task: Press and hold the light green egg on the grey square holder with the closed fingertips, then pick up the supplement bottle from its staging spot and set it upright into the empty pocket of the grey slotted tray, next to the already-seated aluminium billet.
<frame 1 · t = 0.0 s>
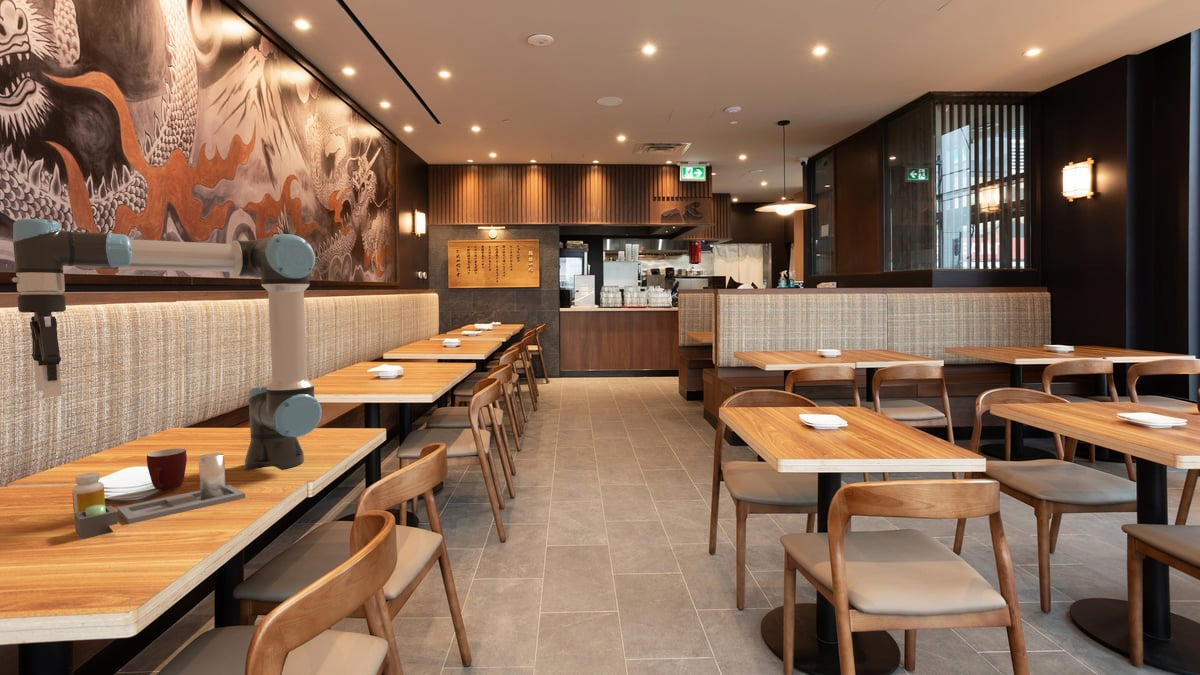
hand: (48, 393, 132), 28 cm above the table, fingers open, 13 cm apart
grey slotted tray: (183, 511, 140), on the table
light green egg: (95, 516, 128), point 3 cm above the table, slide at 0.9 cm
grey square holder: (96, 531, 128), on the table
supplement bottle: (90, 519, 136), on the table
mug: (167, 494, 153), on the table
seated billet: (213, 498, 144), point 1 cm above the table, touching grey slotted tray
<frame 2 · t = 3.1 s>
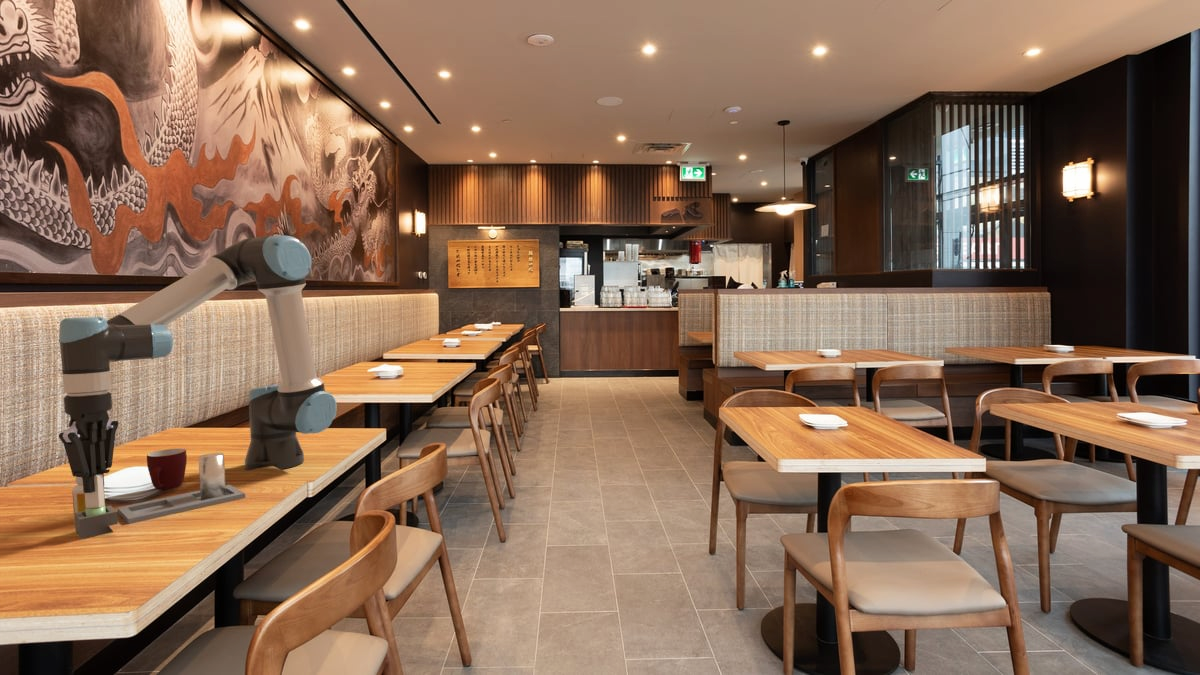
hand: (95, 506, 128), 5 cm above the table, fingers closed
light green egg: (95, 517, 128), point 3 cm above the table, slide at 1.0 cm, touching grey square holder, gripper
everything else where it was.
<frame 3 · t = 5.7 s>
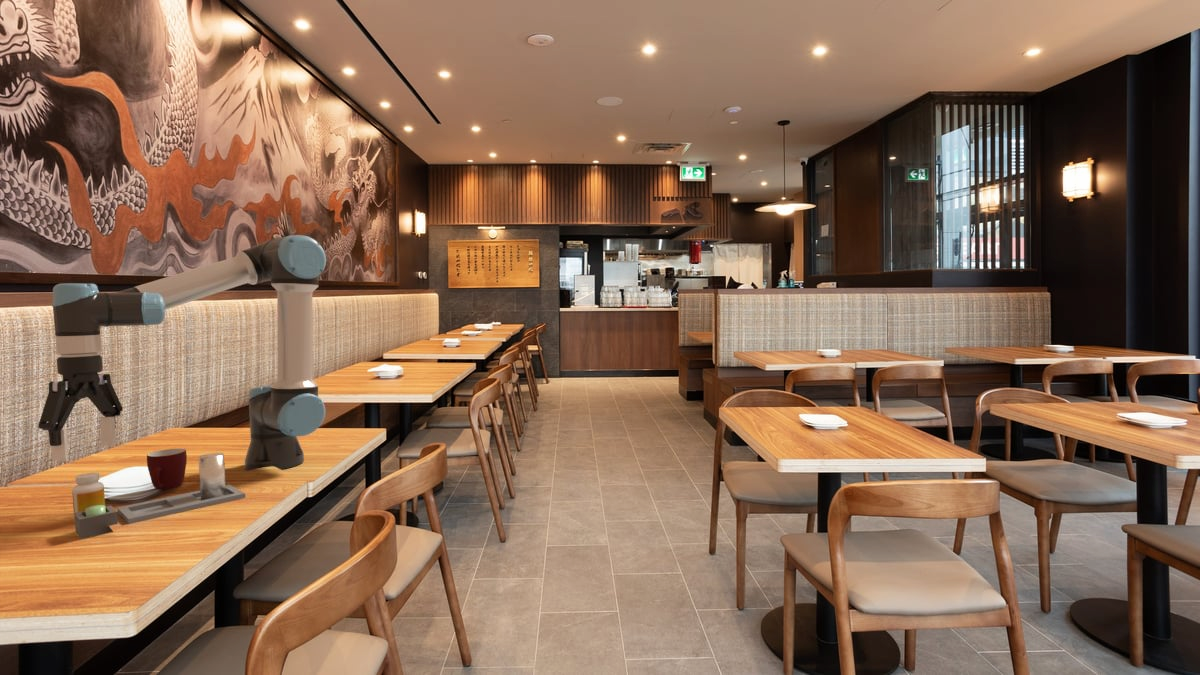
hand: (85, 452, 135), 15 cm above the table, fingers open, 13 cm apart
light green egg: (95, 517, 128), point 3 cm above the table, slide at 1.0 cm, touching grey square holder
everything else where it was.
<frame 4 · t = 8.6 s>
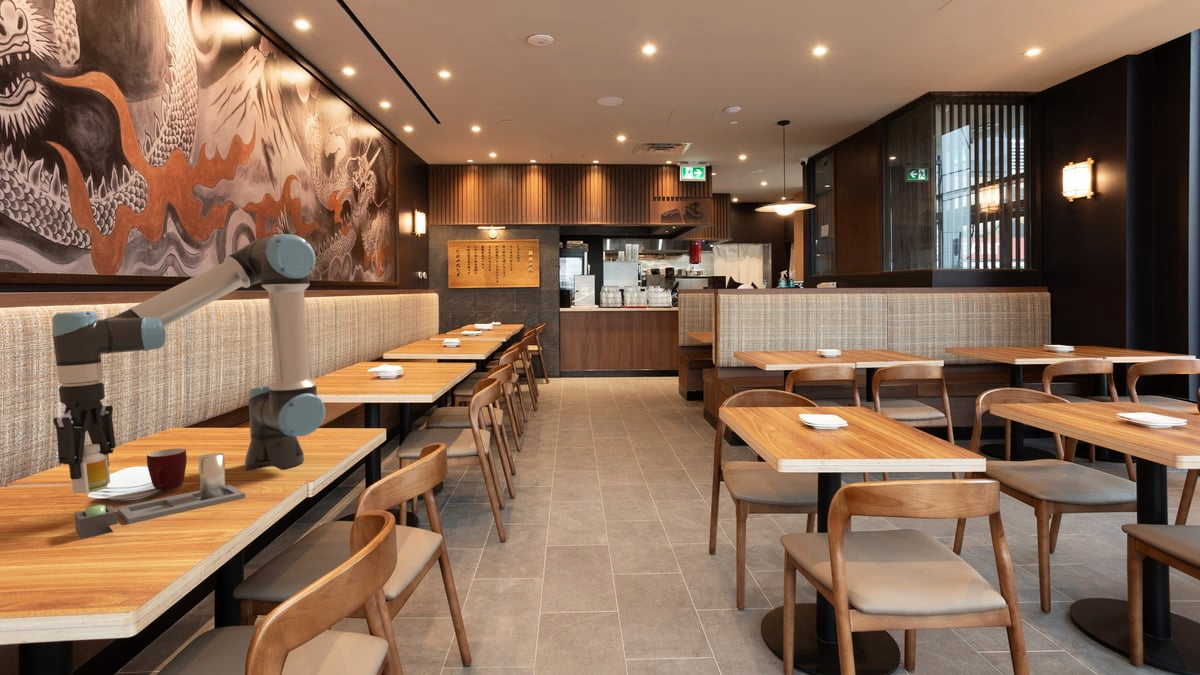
hand: (92, 487, 136), 7 cm above the table, fingers closed on supplement bottle, 5 cm apart
supplement bottle: (92, 490, 136), point 6 cm above the table, touching gripper
everything else where it was.
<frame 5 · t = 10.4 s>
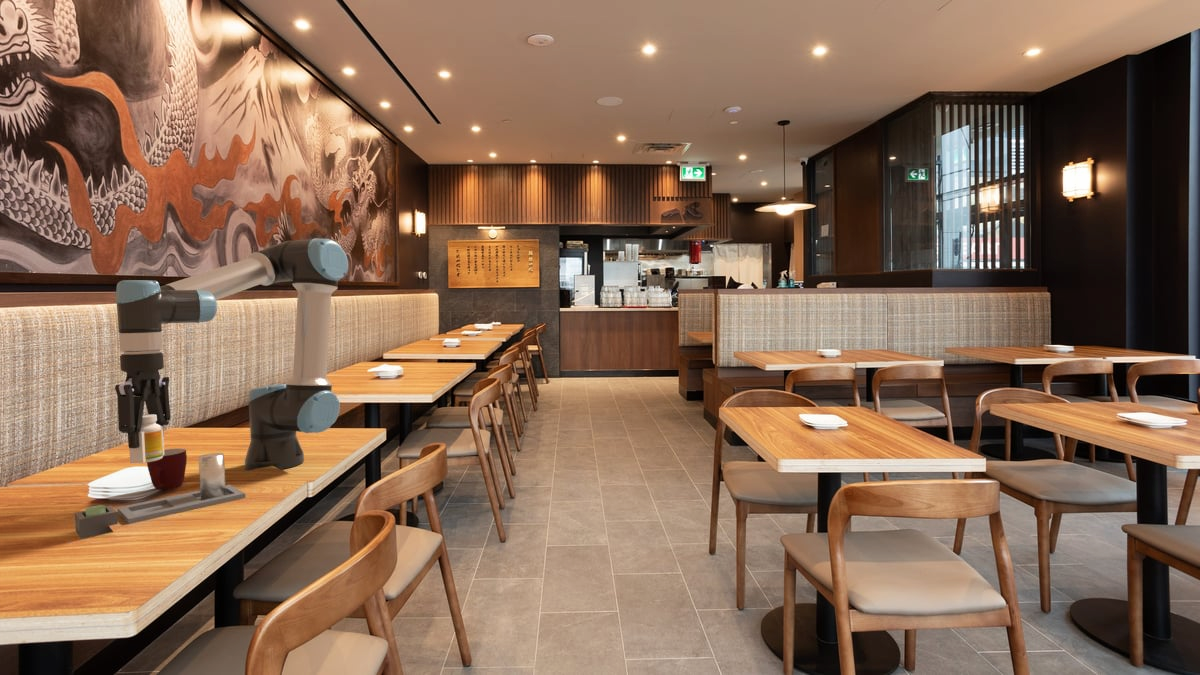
hand: (147, 458, 135), 13 cm above the table, fingers closed on supplement bottle, 5 cm apart
supplement bottle: (148, 460, 135), point 13 cm above the table, touching gripper
everything else where it was.
when the fingers open (3 cm above the table, at t = 12.4 s): supplement bottle drops 1 cm, resting on grey slotted tray.
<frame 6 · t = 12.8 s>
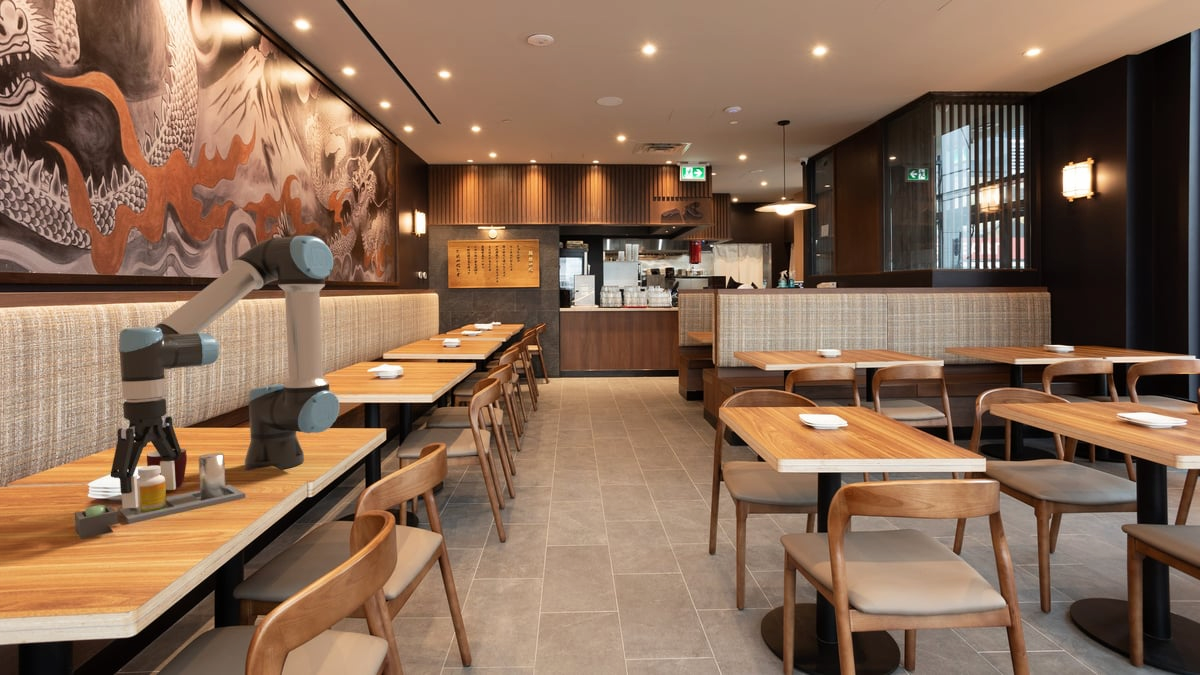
hand: (150, 498, 135), 4 cm above the table, fingers open, 11 cm apart
supplement bottle: (151, 512, 136), point 1 cm above the table, touching grey slotted tray
everything else where it was.
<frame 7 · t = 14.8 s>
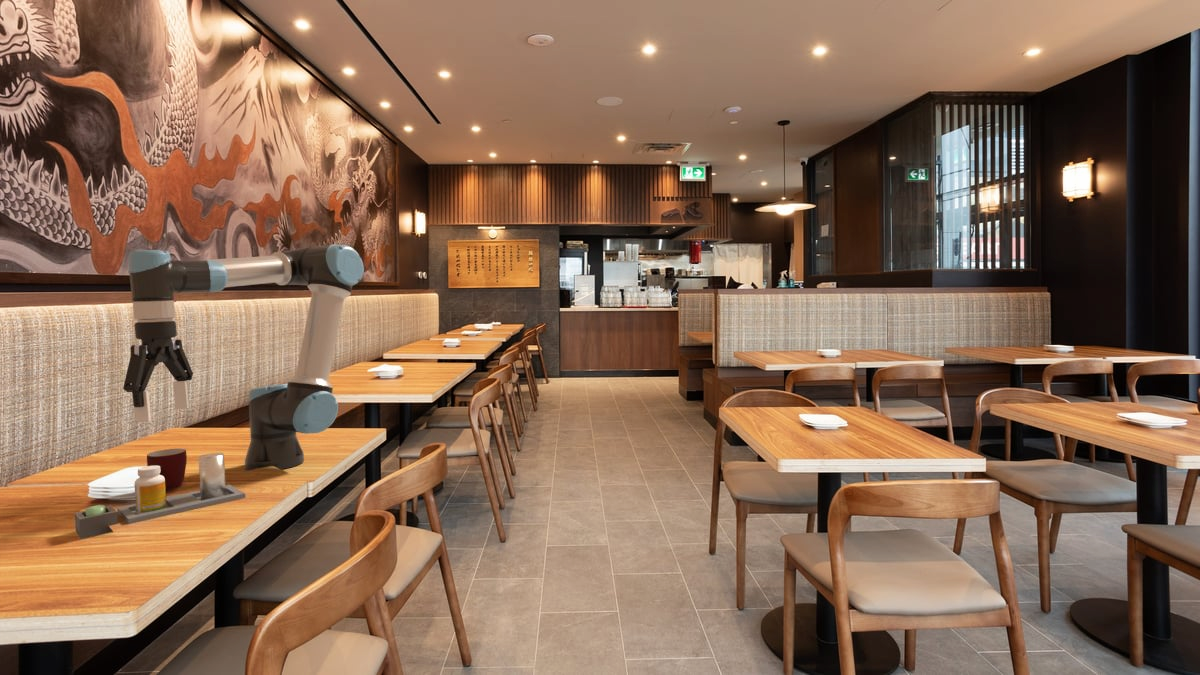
hand: (163, 415, 140), 22 cm above the table, fingers open, 13 cm apart
nothing on the table moved.
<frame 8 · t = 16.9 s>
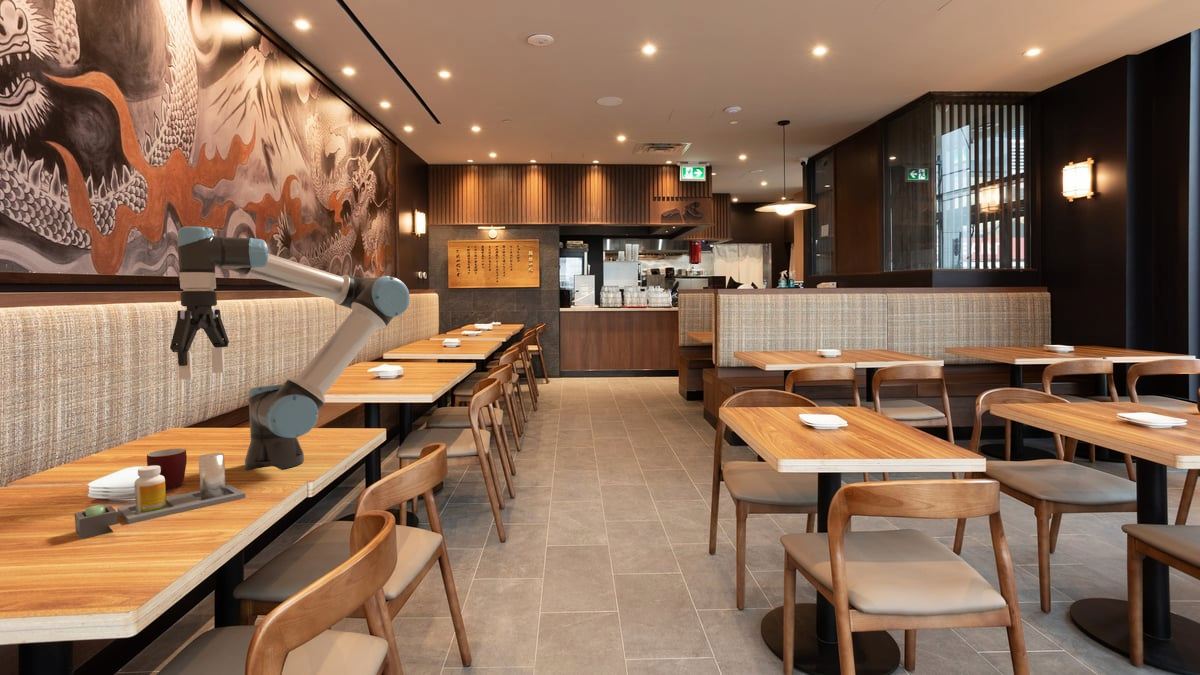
hand: (203, 375, 155), 29 cm above the table, fingers open, 13 cm apart
nothing on the table moved.
at the end: supplement bottle 0.1 cm from the target spot on the grey slotted tray, point 1.3 cm above the grey slotted tray's base; supplement bottle tilted 0°; the gripper is holding nothing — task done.
